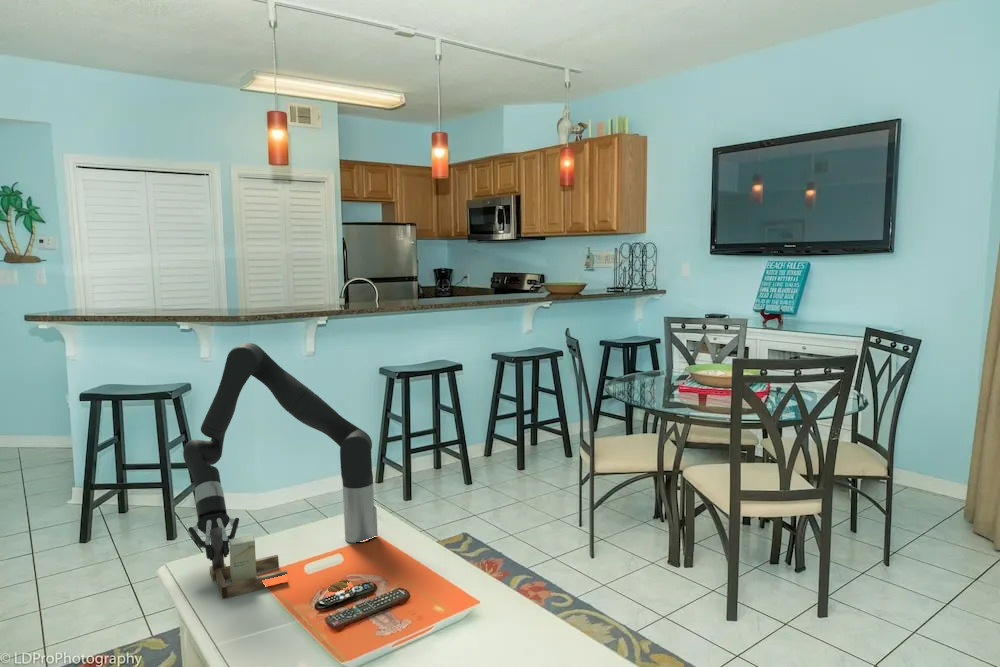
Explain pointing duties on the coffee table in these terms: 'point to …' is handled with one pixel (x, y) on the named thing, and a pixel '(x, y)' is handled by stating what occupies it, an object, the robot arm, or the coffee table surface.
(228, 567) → the brown frame
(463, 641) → the coffee table surface
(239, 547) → the skincare box
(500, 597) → the coffee table surface
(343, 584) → the pastry
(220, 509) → the robot arm
